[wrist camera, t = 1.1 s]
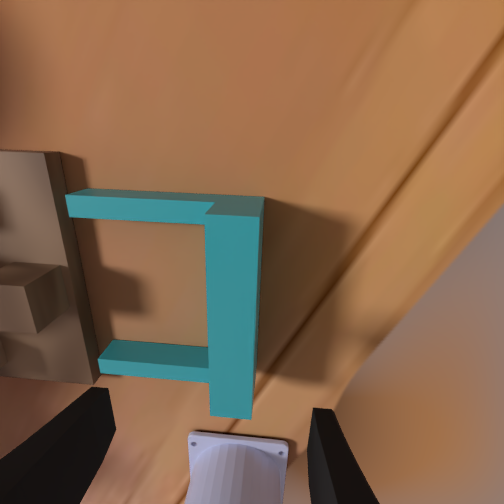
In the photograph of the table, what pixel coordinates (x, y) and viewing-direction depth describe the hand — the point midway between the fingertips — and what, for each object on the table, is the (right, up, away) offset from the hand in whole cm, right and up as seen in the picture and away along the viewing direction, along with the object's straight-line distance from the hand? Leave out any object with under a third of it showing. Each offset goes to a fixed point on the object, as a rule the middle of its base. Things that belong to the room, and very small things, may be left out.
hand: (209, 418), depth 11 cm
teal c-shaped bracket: (-3, +4, +9) cm, 10 cm away
